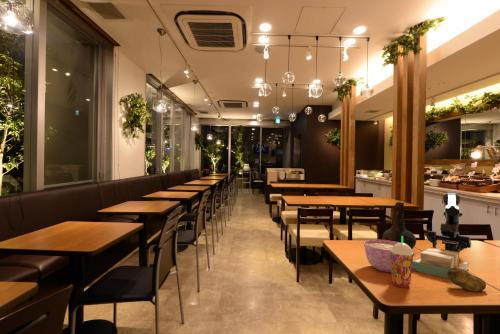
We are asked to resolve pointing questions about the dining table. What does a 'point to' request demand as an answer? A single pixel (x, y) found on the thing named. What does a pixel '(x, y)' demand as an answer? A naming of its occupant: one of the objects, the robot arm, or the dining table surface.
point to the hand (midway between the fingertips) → (444, 252)
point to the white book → (434, 268)
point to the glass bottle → (399, 228)
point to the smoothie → (401, 264)
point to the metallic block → (440, 258)
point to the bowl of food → (379, 253)
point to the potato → (466, 279)
